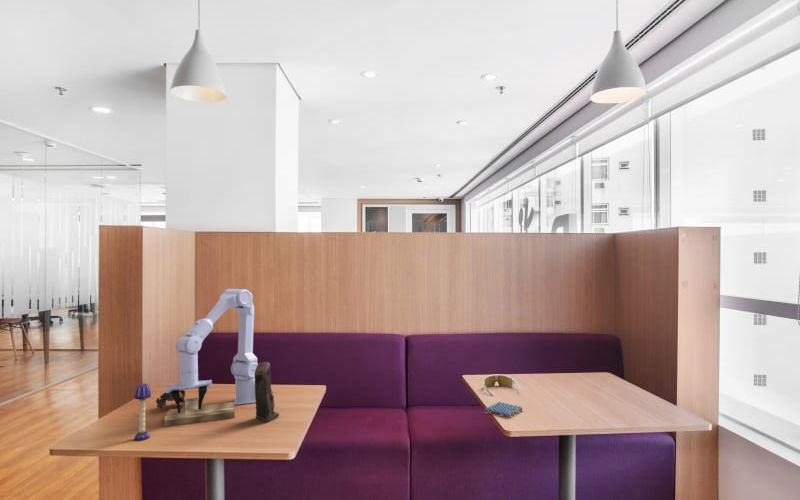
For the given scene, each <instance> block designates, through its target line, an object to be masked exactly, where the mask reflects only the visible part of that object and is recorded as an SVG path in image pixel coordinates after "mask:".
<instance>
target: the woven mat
mask: <svg viewBox="0 0 800 500" xmlns="http://www.w3.org/2000/svg"><path fill="white" fill-rule="evenodd" d="M522 412H524V409H523V407H522V406H517V404H515V405H513V404H511V403H510V404H509V403H505V402H501V401H498V402H496V403H493V404H491V405H489V406H486V407H485V408H484V412H483V413H485V414H489V415H493V416H496V417H500V418H504V419H508V420H510V419H511V418H514V417H515V416H517V415H518V414H521V413H522Z"/></svg>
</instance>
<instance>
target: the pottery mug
mask: <svg viewBox="0 0 800 500" xmlns="http://www.w3.org/2000/svg"><path fill="white" fill-rule="evenodd" d="M179 394H180V408H185V401H186V398H185V397H186V390H181V391H179ZM167 402H175V400H174V399H173V397H172V395H171V392H169V393H166V391H165V392H164V393H162V394H161V395H160V396H159V397H157V399H156V400H155V403H156V408H159V409H163V407H166V406H167V404H166V403H167Z"/></svg>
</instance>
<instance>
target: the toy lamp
mask: <svg viewBox="0 0 800 500" xmlns="http://www.w3.org/2000/svg"><path fill="white" fill-rule="evenodd" d="M135 389H136V390H135V393H134V399H135V400H138V401H139V403H138V407H139V408H138V409H139V410H138V412H139V413H138V417H139V419H138V427H139V428H138V432H137V433H136V434H135V435H134V437H133V440H134V441H144V440H147V439H150V437H151V436H150V433H149V432H148V431H146V411H147V409H146V401H147V400H146V399H149V398H151V397H152V393H151V390H150V386H149V384H148V383H140V384H138V385H137V386H136V388H135Z"/></svg>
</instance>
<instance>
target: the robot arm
mask: <svg viewBox="0 0 800 500" xmlns="http://www.w3.org/2000/svg"><path fill="white" fill-rule="evenodd" d="M253 299H254V298H253V294H252V293H251V291H250V290H248V289H245V288H244V289H241V288H238V289H237V288H227V289H225V291H224V292H223V293H221V294H220V296H219V300H218V301H216V304H215V305H214V307H212V308H211V310H210V311H209V313H208V314H207V315H206V316H205V317H204V318H200V319H197V320H196V321H195V323H194V325H193V326H192V328H191V329H190V330H189V331H187V332H186V333H185V335H183V336H181V337H179V339H178V340H177V342H176V344H174V345H175V346H174V347H175V349H176V351H177V352H178V356H179V383H175V384H170V385H166V386H165V392H166V393H169V392H171V395H172V397H173V399H174V402H175V404H176V405H175V406H176V409H178V413H180V408H181V406H180V404H181V403H180V394H179V391H181V390H185V391H186V390H187V391H188V390H192V389H193V390H194V389H197V390H198V408H199V409H201V406H203V405H202V404H203V402H204V399H205V395H206V394H207V391H208V388H211V387H213V382H212V381H213V380H212V379H209V380H208V379H207V380H199V364H198V362H199V361H198V359H199V356H198V355H199V354H198V352H199V351H200V350H201V348H202V344H203V342H204V340H205V338H206V337H208V335H210V333H211V332H212V331H213V330H214V324H215V322H217V321H218V320H219V318H220V317H221V316H222V315H223V314H224V313H225V312H227V311H228V309H235V310H236V311H237V313H239V317H238V318H239V319H238V321H239V322H238V340H237V353H236V354H235V355H234V356H233V359H232V360H233V361H232V364H231V365H230V366H231V367H230V371H231V374H232V375H233V378H234V379H235V383H234V384H235V386H234V387H235V388H234V389H235V397H234V402H235V406H237V405H246V404H252V403H256V400H255V370H256V368H257V365H258V364H259V363H258V357H257V356H256V355H255V354H254V353H253V351H254V327H255V305H254V302H253Z"/></svg>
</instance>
